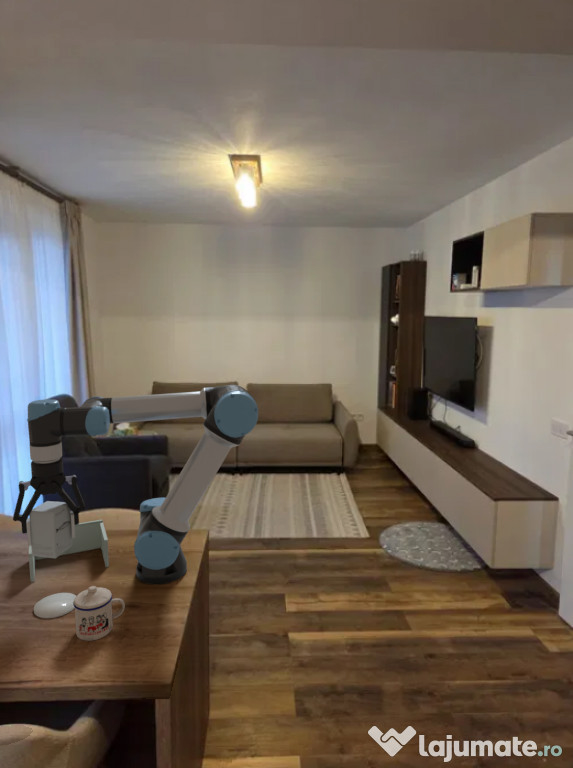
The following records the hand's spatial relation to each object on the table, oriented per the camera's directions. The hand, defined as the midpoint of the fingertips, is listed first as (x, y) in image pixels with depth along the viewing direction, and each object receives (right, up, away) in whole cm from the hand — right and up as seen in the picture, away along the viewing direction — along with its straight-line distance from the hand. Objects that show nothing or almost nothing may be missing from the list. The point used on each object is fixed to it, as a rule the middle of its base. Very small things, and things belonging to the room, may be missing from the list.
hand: (52, 539), depth 133 cm
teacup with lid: (+16, -21, -7) cm, 27 cm away
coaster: (0, -19, +3) cm, 19 cm away
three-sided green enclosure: (-6, -15, +26) cm, 31 cm away
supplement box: (0, -3, +1) cm, 3 cm away
